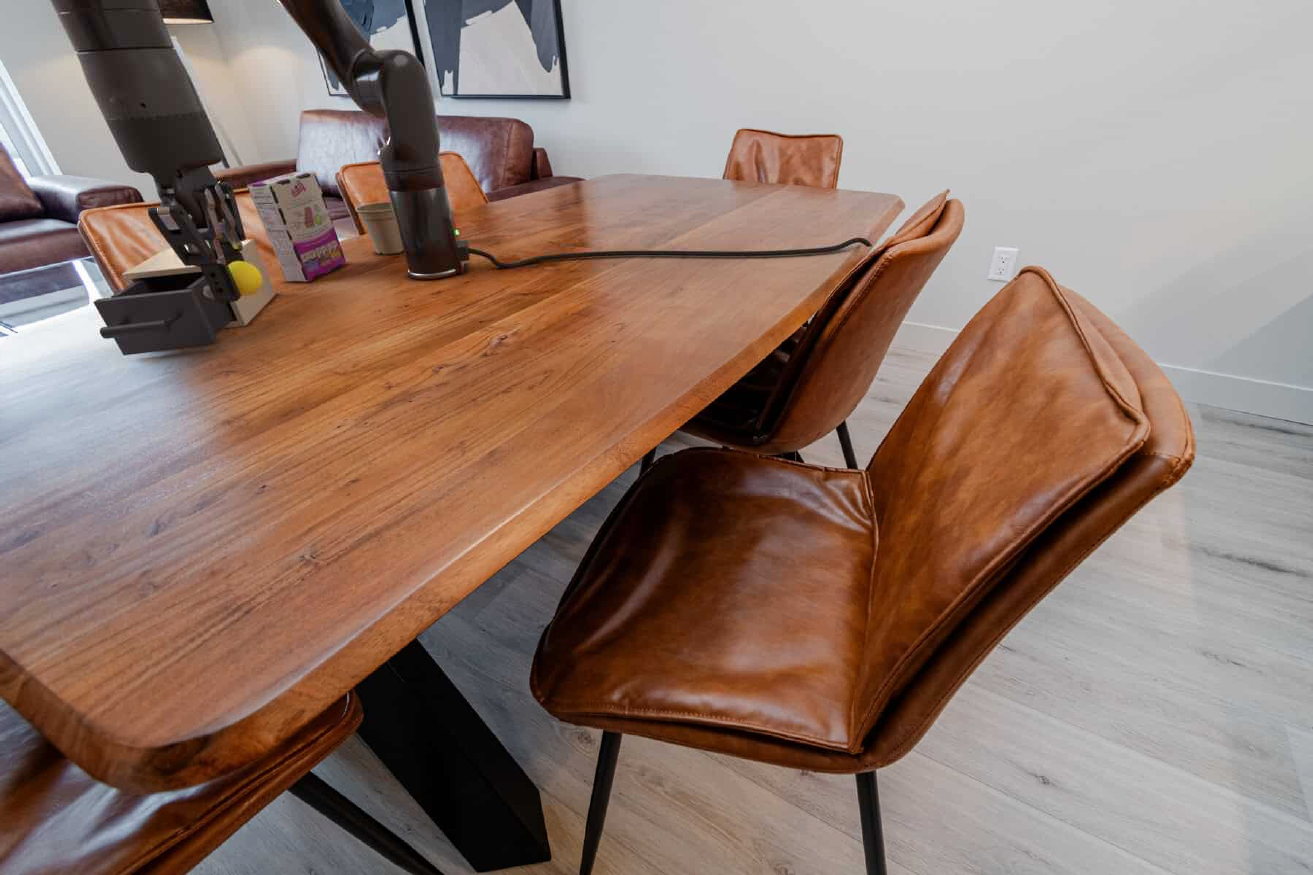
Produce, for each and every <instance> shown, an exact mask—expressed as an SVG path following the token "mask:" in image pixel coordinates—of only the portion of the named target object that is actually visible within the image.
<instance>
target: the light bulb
mask: <svg viewBox="0 0 1313 875" xmlns="http://www.w3.org/2000/svg"><path fill="white" fill-rule="evenodd" d="M228 267H229V269H230V271H231V273H232V276H233V278H234V280H235V282H236V285H237V287H238V289H239V291H240V294H241V296H249V295H252V294H254V293H255V292H257V291H258V290H259V289H260V287H261V286H262V283H263V279H262V275H261V273H260V271H259V270H258V269H257V268H256V267H255V266H254V265H252V264H249V263H247V262H244V261H236V262H232V263H231V264H229V265H228ZM204 295H205V296H206V297H209V298H212V299H214V296H213V294H212V292H211V289H210V287H209V285H208V286H205V287H204Z"/></svg>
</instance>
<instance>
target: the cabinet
mask: <svg viewBox="0 0 1313 875" xmlns="http://www.w3.org/2000/svg"><path fill="white" fill-rule="evenodd" d="M241 243H242V246H243V250H242V251H240V252H241V253H242V256H243V258H244V260H245V262H247V263H249V264H252V265H254V266H255V267H256V268H257V269H258V270H259V271H260V273H261V275H262V279H263V283H262V286H261V287H260V289H259V290H258V291H257V292H255V293H254V294H252V295H249V296H241V298H240V299H239V300H238V301H234V302H230V305H231V307H232V309H233V311H234V314H235V317H234V318H233V319H232V320H231V321H230V322H229V323H228V324H227V325H226V326H225V327H224V328H223V329H229V328H237V327H238V328H239V327H246V326H247V325H248V324H249V323H250V322H251V321H252V320H253V319H254V318H255V317H256V316H257V314H259V313H260V312H261V311H262V309H263V308H264V307H265V306H266V305H268V303H269V302H270V301H271V300H272V299H273V298H274V297H275V296H276V292H275V289H274V286H273V283H272V281H271V279H270V277H269V274H268V271H267V269H266V266H265V264H264V262H263V259H262V257H261V254H260V251H259V249H258V247H257V244H256V242H255V239H254V238H251V239H246V240H245V241H241ZM207 244H208V245H209V243H208V242H207ZM184 246H185V247H186V249H187V250H188V248H187V245H184ZM209 247H210V246H209ZM195 272H202V270H201V268H200V267H196V266H193V265H192V266H185V265H184V264H183V263H182V261H181V260H180V258H179V257H178V256H177V254H176V253H175V252H174V250H173V249H172V247H171V246H169V247H168V248H166V249H164V250H162V251H160V252H158V253H157V254H155V255H152V256H151V257H150V258H148V259H145V260H144V261H142V262H141V263H139V264H137V265H135V266H133V267H132V268H130V269H128V270H126V271H125V272H123V273H121V276H122V278H123V280H124V281H125V283H126V286H129V285H131V284H132V283H134V282H136V281H137V280H139V279H141V278H146V277H156V276H166V275H175V274H185V273H195Z"/></svg>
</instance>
